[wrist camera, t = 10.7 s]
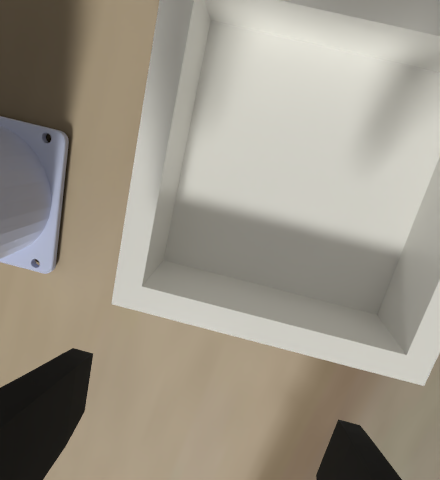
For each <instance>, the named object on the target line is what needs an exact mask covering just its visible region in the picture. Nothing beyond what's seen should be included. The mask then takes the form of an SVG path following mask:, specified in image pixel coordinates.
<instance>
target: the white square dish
mask: <svg viewBox="0 0 440 480" xmlns="http://www.w3.org/2000/svg"><path fill="white" fill-rule="evenodd" d="M112 304H113V305H117V306H121V307H125V308H129V309H132V310H136V311H140V312H144V313H148V314H151V315H155V316H159V317H163V318H167V319H171V320H174V321H178V322H182V323H186V324H190V325H193V326H197V327H201V328H205V329H209V330H213V331H216V332H220V333H224V334H228V335H232V336H235V337H239V338H243V339H247V340H251V341H254V342H258V343H262V344H266V345H270V346H274V347H277V348H281V349H285V350H289V351H293V352H296V353H300V354H304V355H308V356H312V357H316V358H319V359H323V360H327V361H331V362H335V363H338V364H342V365H346V366H350V367H354V368H358V369H361V370H365V371H369V372H373V373H377V374H380V375H384V376H388V377H392V378H396V379H399V380H403V381H407V382H411V383H415V384H419V385H422V386H424V385H425V382H426V380H427V378H428V376H429V374H430V372H431V370H432V368H433V365H434V363H435V361H436V359H437V357H438V355H439V353H440V0H160V1H159V8H158V14H157V20H156V27H155V33H154V39H153V46H152V52H151V58H150V64H149V71H148V77H147V83H146V90H145V96H144V102H143V109H142V115H141V121H140V127H139V134H138V140H137V146H136V153H135V159H134V165H133V172H132V178H131V184H130V191H129V197H128V203H127V209H126V216H125V222H124V228H123V235H122V241H121V247H120V254H119V260H118V266H117V272H116V279H115V285H114V291H113V298H112Z"/></svg>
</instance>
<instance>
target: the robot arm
mask: <svg viewBox="0 0 440 480" xmlns="http://www.w3.org/2000/svg"><path fill="white" fill-rule="evenodd" d="M48 133H49V134H50V136H51V142H50V143H49V142H48V141H47V140H46V136H47V134H48ZM68 144H69V141H68V137H67V135H66V134H65V133H64V132H62V131H60V130H56V129H52V128H48V127H43V126H39V125H35V124H31V123H27V122H23V121H19V120H15V119H11V118H7V117H3V116H0V262H2V263H6V264H10V265H14V266H17V267H21V268H25V269H29V270H33V271H37V272H40V273H46V274H47V273H50V272H51V271H53V270H54V269H55V266H56V258H57V248H58V239H59V229H60V220H61V210H62V201H63V191H64V182H65V173H66V163H67V154H68ZM35 259H37V260H38V261H39V262H40V265H37V264H36V262H35ZM92 357H93V353H89V352H85V351H81V350H78V349H74V348H73V349H71V350H69V351H67V352H65V353H63V354H61V355H60V356H58V357H56V358H54V359H52V360H51V361H49V362H47V363H45V364H43V365H42V366H40V367H38V368H36V369H34V370H33V371H31V372H29V373H27V374H25V375H23V376H22V377H20V378H18V379H16V380H14V381H12V382H10V383H8V384H7V385H5V386H3V387H1V388H0V480H43V479H44V477H45V476H46V474H47V473H48V471H49V470H50V468H51V467H52V465H53V464H54V462H55V461H56V460H57V458H58V457H59V455H60V454H61V452H62V451H63V449H64V448H65V446H66V444H67V443H68V441H69V439H70V437H71V435H72V434H73V432H74V430H75V428H76V426H77V424H78V422H79V420H80V419H81V417H82V415H83V413H84V411H85V404H86V398H87V391H88V384H89V378H90V371H91V364H92ZM316 477H317V480H402V479H401V478H400V477H399V475H398V474H397V473H396V471H395V470H394V469H393V468H392V466H391V465H390V464H389V462H388V461H387V460H386V458H385V457H384V456H383V454H382V453H381V452H380V450H379V449H378V448H377V446H376V445H375V444H374V442H373V441H372V440H371V439H370V437H369V436H368V435H367V433H366V432H365V431H364V430H363V429H362V427H361V426H360V425H357V424H353V423H349V422H345V421H342V420H338V422H337V424H336V427H335V429H334V432H333V434H332V437H331V439H330V442H329V444H328V447H327V449H326V452H325V454H324V457H323V459H322V462H321V464H320V467H319V470H318V472H317V475H316Z"/></svg>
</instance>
